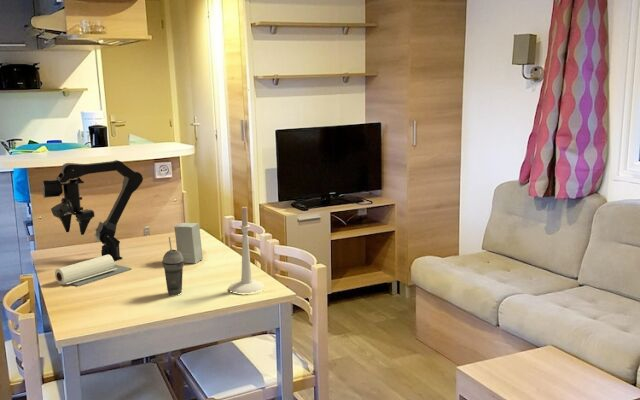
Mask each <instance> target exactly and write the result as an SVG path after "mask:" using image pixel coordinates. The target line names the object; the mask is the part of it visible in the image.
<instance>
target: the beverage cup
mask: <svg viewBox="0 0 640 400" xmlns="http://www.w3.org/2000/svg"><path fill="white" fill-rule="evenodd" d="M168 242H169V248H170V249H169V250H168V251H166V252H165V253H164V255H163V257H162V267H163V269H164V274H165V275H164V276H165V281H166V289H167V295H168V294H169V295H168V296H170V295H177V296H179V295H178V294H180V293H183V292H182V290H183V272H184V270H183V268H184V264H185V263H184V260H183V256H182V254H181V253H180V252H179V251H177V249H173V248H172V247H173V246H172V239H171V237H170V236H169V237H168ZM180 295H181V294H180Z"/></svg>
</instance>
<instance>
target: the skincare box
mask: <svg viewBox="0 0 640 400" xmlns="http://www.w3.org/2000/svg"><path fill="white" fill-rule="evenodd" d="M173 228H174V235H175V236H174V237H175V244H176V250H177V251H179V252H180V253H181V254H182V256H183V260H184V262H185V263H184V264H197V263H198V261H199V262H200V260H201V259H202V260H203V256H204V255H203V249H202V247H203V246H202V238H201V228H200V223H198V222H181V223H179V224H177V225H174V227H173ZM202 260H201V261H202Z"/></svg>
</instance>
